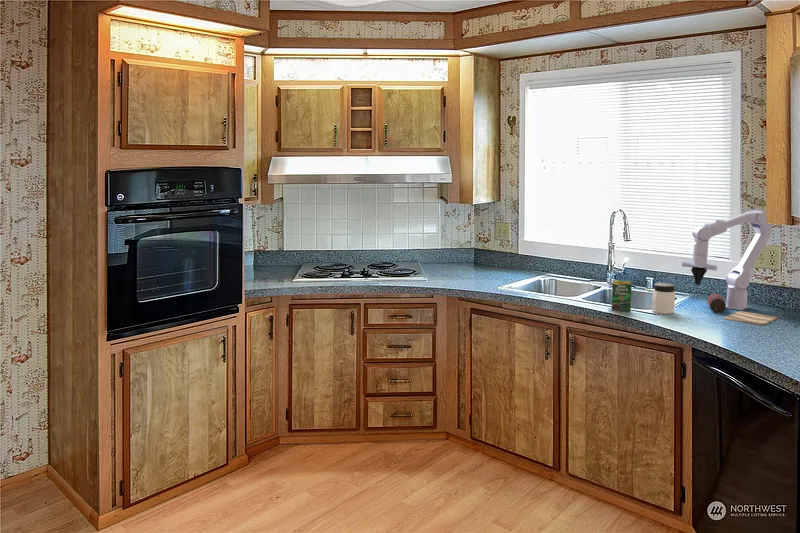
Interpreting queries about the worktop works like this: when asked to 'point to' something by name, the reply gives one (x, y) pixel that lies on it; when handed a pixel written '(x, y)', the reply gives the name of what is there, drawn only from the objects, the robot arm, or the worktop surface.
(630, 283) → the green cardboard box
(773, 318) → the wooden cutting board
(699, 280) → the robot arm
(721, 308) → the can
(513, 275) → the worktop surface
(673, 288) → the jar
